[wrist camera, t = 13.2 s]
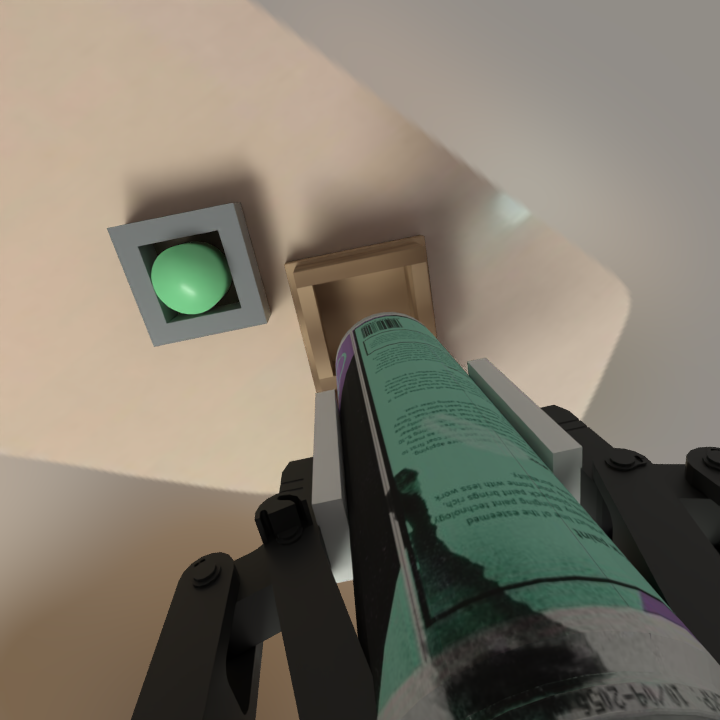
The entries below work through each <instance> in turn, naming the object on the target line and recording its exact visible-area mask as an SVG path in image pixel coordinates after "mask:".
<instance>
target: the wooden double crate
mask: <svg viewBox="0 0 720 720" xmlns="http://www.w3.org/2000/svg"><path fill="white" fill-rule="evenodd" d="M284 266H285V270H286V274H287V278H288V282H289V286H290V290H291V294H292V298H293V302H294V306H295V310H296V313H297V317H298V321H299V325H300V329H301V333H302V337H303V341H304V345H305V349H306V353H307V357H308V361H309V365H310V369H311V373H312V377H313V381H314V385H315V389H316V392H317V393H319V392H324V391H329V390H335V395H336V399H337V403H338V391H337V379H336V356H337V351H338V348H339V345H340V343H341V340H342V339H343V337H344V336H345V334H346V333H347V332H348V331H349V330H350V329H351V328H352V327H353V326H354V325H355V324H356V323H358V322H359V321H360V320H362V319H364V318H366V317H368V316H371V315H373V314H378V313H382V312H396V313H402V314H405V315H408V316H410V317H413V318H415V319H416V320H418V321H419V322H421V323H422V324H423V325H424V326H425V327H426V328H427V329H428V330H429V331H430V332H431V333H432V334H433V335H434V336H435V337H436V339H437V334H436V326H435V318H434V310H433V302H432V294H431V286H430V278H429V270H428V262H427V254H426V246H425V238H424V236H422V235H418V236H413V237H408V238H403V239H398V240H394V241H389V242H384V243H379V244H374V245H369V246H364V247H359V248H355V249H350V250H345V251H340V252H335V253H330V254H325V255H320V256H316V257H311V258H306V259H301V260H296V261H291V262H286V263H285V264H284ZM338 408H339V403H338Z"/></svg>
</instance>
